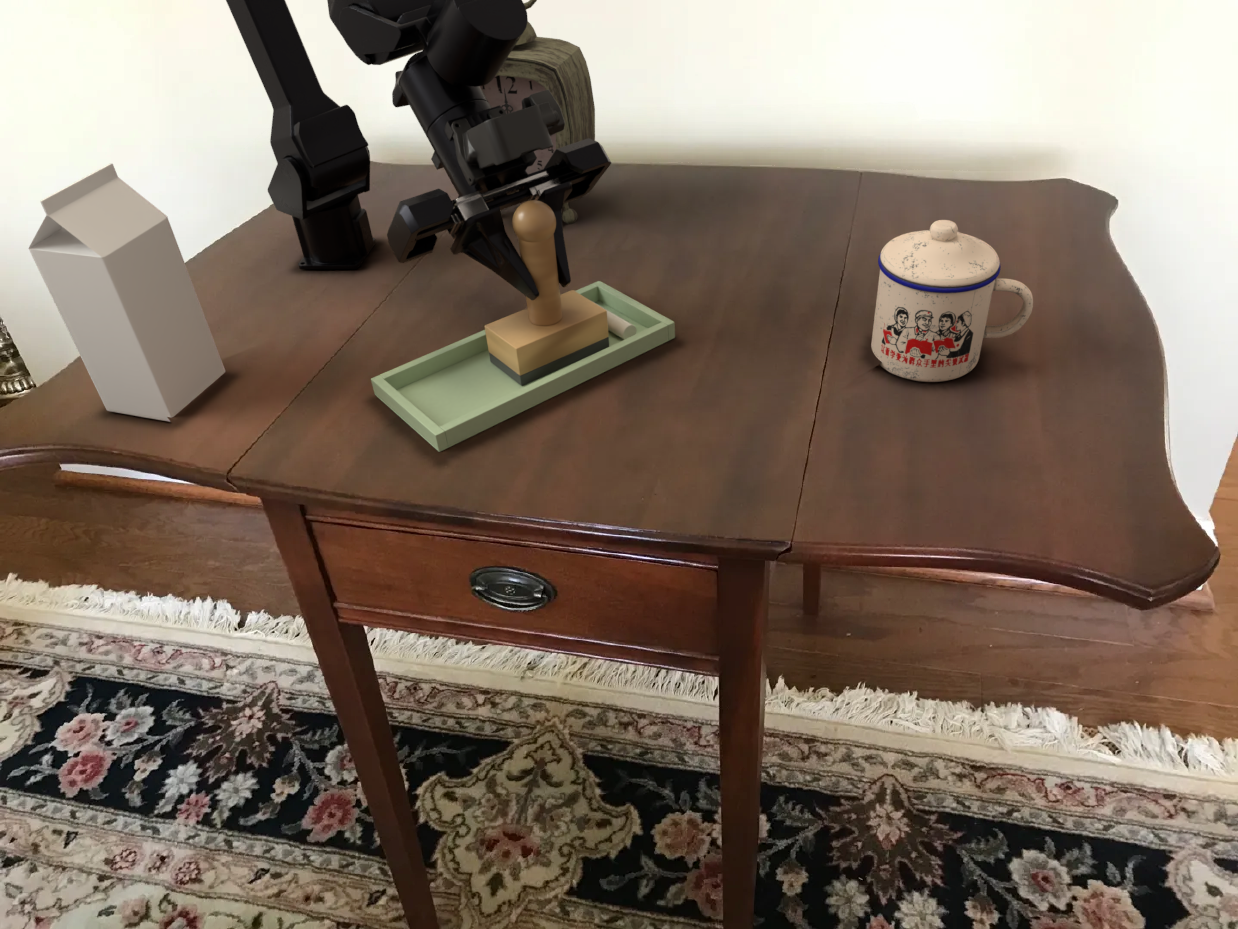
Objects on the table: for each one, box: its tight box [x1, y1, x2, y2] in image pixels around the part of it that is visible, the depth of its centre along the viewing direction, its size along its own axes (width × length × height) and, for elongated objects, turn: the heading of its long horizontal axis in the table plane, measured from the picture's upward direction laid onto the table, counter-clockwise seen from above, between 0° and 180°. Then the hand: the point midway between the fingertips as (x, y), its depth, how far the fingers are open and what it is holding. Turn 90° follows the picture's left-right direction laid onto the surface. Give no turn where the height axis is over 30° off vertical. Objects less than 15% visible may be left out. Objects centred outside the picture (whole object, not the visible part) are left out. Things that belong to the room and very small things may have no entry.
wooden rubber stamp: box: [484, 200, 609, 386], centre depth 78 cm, size 9×5×14 cm, turn 127°
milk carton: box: [28, 163, 226, 423], centre depth 76 cm, size 7×7×19 cm
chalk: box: [592, 301, 636, 340], centre depth 84 cm, size 6×2×2 cm
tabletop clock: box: [480, 0, 596, 225], centre depth 100 cm, size 14×9×25 cm, turn 73°
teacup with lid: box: [870, 219, 1034, 383], centre depth 76 cm, size 12×9×12 cm
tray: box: [370, 280, 676, 453], centre depth 81 cm, size 24×11×2 cm, turn 128°
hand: (551, 291), depth 77 cm, fingers closed on wooden rubber stamp, 3 cm apart
